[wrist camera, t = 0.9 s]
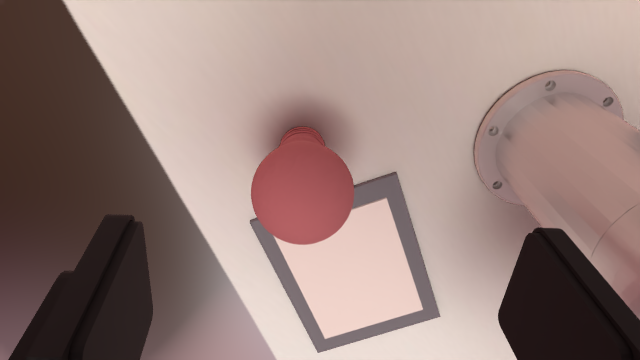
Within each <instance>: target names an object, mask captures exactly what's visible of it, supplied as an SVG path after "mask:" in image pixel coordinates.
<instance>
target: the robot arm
mask: <svg viewBox="0 0 640 360" xmlns="http://www.w3.org/2000/svg"><path fill="white" fill-rule="evenodd" d="M546 83H547V84H546ZM491 127H492V128H491ZM474 157H475V165H476V168H477V171H478V174H479V176H480V177H481V179H482V181H483V182H484V184H485V185H486V186H487V188H488V189H489V190H490V191H491V192H492V193H493V194H495V195H496V196H497V197H499V198H500V199H502V200H504V201H507V202H509V203H512V204H517V205H521V206H526V207H527V209H528V210H529V211H530V213H531V214H532V215H533V216H534V218H535V219H536V220H537V221H538V223H539V224H540V225H541V226H542V228H536V229H535V230H534V231H533V232H532V233H529V234H528V235H527V236H526V238H525V240H524V243H523V246H522V249H521V251H520V254H519V257H518V260H517V262H516V265H515V268H514V271H513V273H512V276H511V279H510V282H509V284H508V287H507V290H506V293H505V295H504V298H503V301H502V304H501V306H500V309H499V313H498V320H499V324H500V327H501V329H502V331H503V333H504V334H505V336H506V338H507V340H508V342H509V344H510V346H511V348H512V350H513V352H514V354H515V356H516V358H517V360H640V131H639V130H638V129H636V128H635V127H633V126H632V125H630V124H628V123H627V122H625V121H624V118H623V111H622V107H621V104H620V102H619V99H618V97H617V96H616V95H615V93H614V92H613V91H612V89H611V88H610V87H608V86H607V85H606V84H604V83H603V82H602V81H600V80H598V79H597V78H595V77H593V76H591V75H589V74H585V73H582V72H578V71H567V70H561V71H553V72H547V73H544V74H541V75H537V76H534V77H532V78H530V79H528V80H526V81H524V82H522V83H520V84H518V85H517V86H516V87H514V88H513V89H511V90H510V91H508V92H507V93H506V94H505V95H504V96H503V97H502V98H501V99H500V100H499V101H497V102H496V103H495V105H494V106H493V107H492V109H491V110H490V111H489V113H488V114H487V115H486V117H485V119H484V121H483V123H482V124H481V126H480V128H479V132H478V135H477V138H476V141H475V150H474ZM152 315H153V304H152V295H151V287H150V279H149V271H148V262H147V254H146V245H145V238H144V229H143V224H142V222H136V221H135V219H134V217H133V216H132V215H111V214H110V215H109V214H108V215H106V216H105V217H104V219H103V220H102V222H101V224H100V226H99V227H98V229H97V231H96V233H95V235H94V236H93V238H92V240H91V242H90V244H89V245H88V247H87V249H86V251H85V252H84V254H83V256H82V258H81V259H80V261H79V263H78V265H77V266H76V268H75V270H74V271H64V272H62V273H61V274H60V275H59V277H58V278H57V279H56V281H55V282H54V284H53V286H52V287H51V289H50V291H49V293H48V294H47V296H46V298H45V299H44V301H43V303H42V304H41V306H40V308H39V309H38V311H37V313H36V314H35V316H34V318H33V319H32V321H31V323H30V324H29V326H28V328H27V329H26V331H25V333H24V334H23V336H22V338H21V339H20V341H19V343H18V344H17V346H16V348H15V350H14V351H13V353H12V355H11V356H10V358H9V360H140V357H141V353H142V351H143V347H144V344H145V341H146V338H147V335H148V331H149V328H150V325H151V321H152Z"/></svg>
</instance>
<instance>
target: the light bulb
mask: <svg viewBox="0 0 640 360" xmlns="http://www.w3.org/2000/svg"><path fill="white" fill-rule="evenodd" d="M251 199H252V204H253V208H254V211H255V214H256V216H257V218H258V220H259V221H260V223H261V224H262V225H263V227H264V228H265V229H266V230H267V231H268V232H269V233H271V234H272V235H273V236H275V237H276V238H278V239H280V240H282V241H285V242H288V243H292V244H298V245H308V244H314V243H317V242H320V241H323V240H325V239H327V238H329V237H331V236H332V235H333V234H335V233H336V232H337V231H338V230H339V229H340V228H341V227H342V226H343V225H344V223H345V222H346V220H347V219H348V217H349V215H350V212H351V210H352V206H353V202H354V184H353V180H352V177H351V174H350V172H349V170H348V168H347V166H346V164H345V163H344V161H343V160H342V159H341V158H340V157H339V156H338V155H337V154H336V153H334V152H333V151H332V150H330V149H329V148H327V147H325V144H324V140H323V139H322V137H321V136H320V134H319V133H318V132H316V131H315V130H314V129H311V128H308V127H296V128H293V129H291V130H290V131H288V132H287V133H286V134H285V135H284V136H283V138H282V140H281V143H280V146H279V147H278V148H277V149H275V150H274V151H272V152H271V153H270V154H269V155H268V156H267V157H266V158H265V159H264V160H263V161H262V162H261V164H260V165H259V167H258V168H257V170H256V173H255V175H254V178H253V182H252V188H251Z"/></svg>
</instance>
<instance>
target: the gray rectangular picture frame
mask: <svg viewBox="0 0 640 360" xmlns="http://www.w3.org/2000/svg"><path fill="white" fill-rule="evenodd" d="M250 224H251V226H252V228H253V230H254V232H255V234H256V236H257V237H258V239H259V241H260V243H261V245H262V247H263V249H264V251H265V253H266V255H267V257H268V258H269V260H270V262H271V264H272V266H273V268H274V270H275V272H276V274H277V276H278V278H279V279H280V281H281V283H282V285H283V287H284V289H285V291H286V293H287V295H288V297H289V299H290V300H291V302H292V304H293V306H294V308H295V310H296V312H297V314H298V316H299V318H300V319H301V321H302V323H303V325H304V327H305V329H306V331H307V333H308V335H309V337H310V339H311V340H312V342H313V344H314V346H315V348H316V350H317V352H318V353H319V352H323V351H326V350H330V349H333V348H336V347H340V346H343V345H346V344H350V343H353V342H356V341H360V340H363V339H367V338H370V337H373V336H377V335H380V334H383V333H387V332H390V331H393V330H397V329H400V328H404V327H407V326H410V325H414V324H417V323H420V322H424V321H427V320H430V319H434V318H437V317H440V314H439V311H438V308H437V305H436V301H435V298H434V295H433V291H432V288H431V285H430V282H429V278H428V275H427V272H426V268H425V265H424V262H423V259H422V255H421V252H420V249H419V245H418V242H417V239H416V236H415V232H414V229H413V226H412V222H411V219H410V216H409V213H408V209H407V206H406V203H405V200H404V196H403V193H402V190H401V186H400V183H399V180H398V177H397V174H396V172H394V173H391V174H388V175H385V176H382V177H379V178H376V179H373V180H370V181H367V182H364V183H361V184H358V185H355V186H354V202H353V206H352V210H351V212H350V215H349V217H348V219H347V220H346V222H345V223H344V225H343V226H342V227H341V228H340V229H339V230H338V231H337V232H336V233H335V234H333V235H332V236H331V237H329V238H327V239H325V240H323V241H320V242H317V243H314V244H308V245H298V244H292V243H288V242H285V241H282V240H280V239H278V238H276V237H275V236H273V235H272V234H271V233H269V232H268V231H267V230H266V229H265V228H264V227H263V225H262V224H261V223H260V221H259V220H258V218H256V219H253V220H250Z"/></svg>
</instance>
